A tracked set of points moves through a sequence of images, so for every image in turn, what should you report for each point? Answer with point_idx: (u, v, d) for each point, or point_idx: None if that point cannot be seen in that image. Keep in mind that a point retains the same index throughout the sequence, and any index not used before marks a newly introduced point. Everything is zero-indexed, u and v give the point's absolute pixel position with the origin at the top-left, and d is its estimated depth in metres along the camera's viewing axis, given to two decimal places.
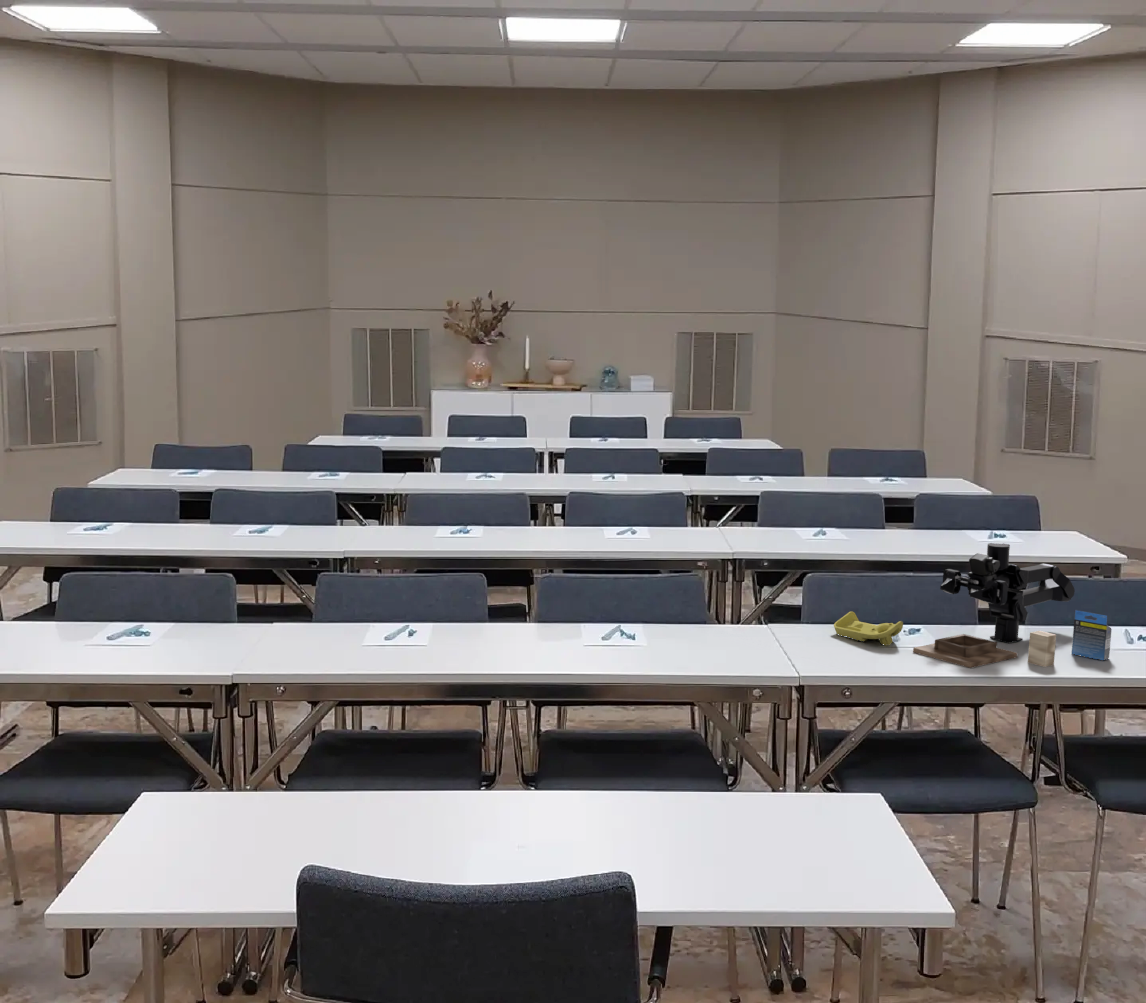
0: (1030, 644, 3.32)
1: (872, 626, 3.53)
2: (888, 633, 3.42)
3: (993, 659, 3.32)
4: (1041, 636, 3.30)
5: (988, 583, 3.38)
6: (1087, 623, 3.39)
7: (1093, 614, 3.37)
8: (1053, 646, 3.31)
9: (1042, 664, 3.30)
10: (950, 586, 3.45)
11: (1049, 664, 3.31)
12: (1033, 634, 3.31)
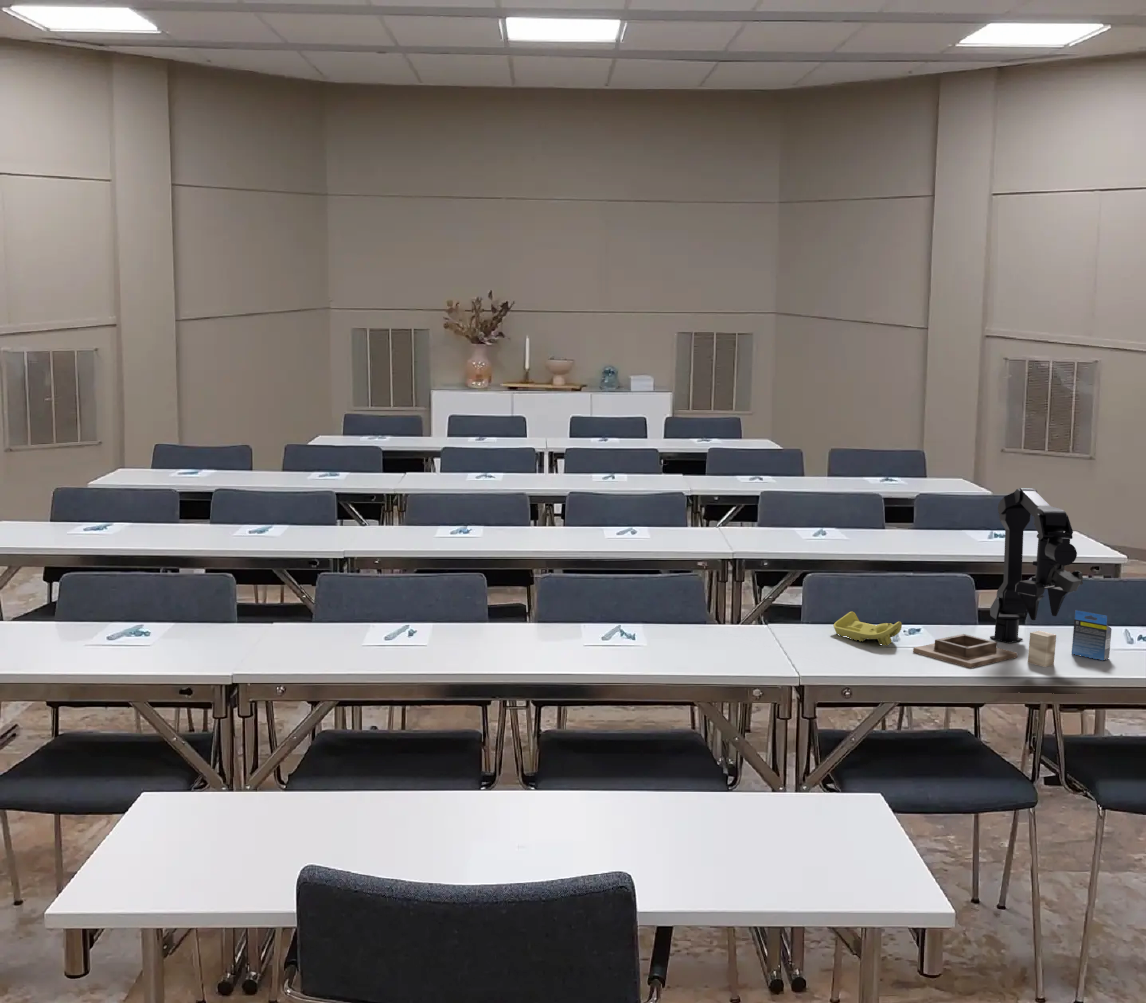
0: (1030, 644, 3.32)
1: (871, 626, 3.53)
2: (886, 633, 3.42)
3: (993, 659, 3.32)
4: (1041, 636, 3.30)
5: (1066, 594, 3.31)
6: (1087, 623, 3.39)
7: (1093, 614, 3.37)
8: (1053, 646, 3.31)
9: (1042, 664, 3.30)
10: None
11: (1049, 664, 3.31)
12: (1033, 634, 3.31)
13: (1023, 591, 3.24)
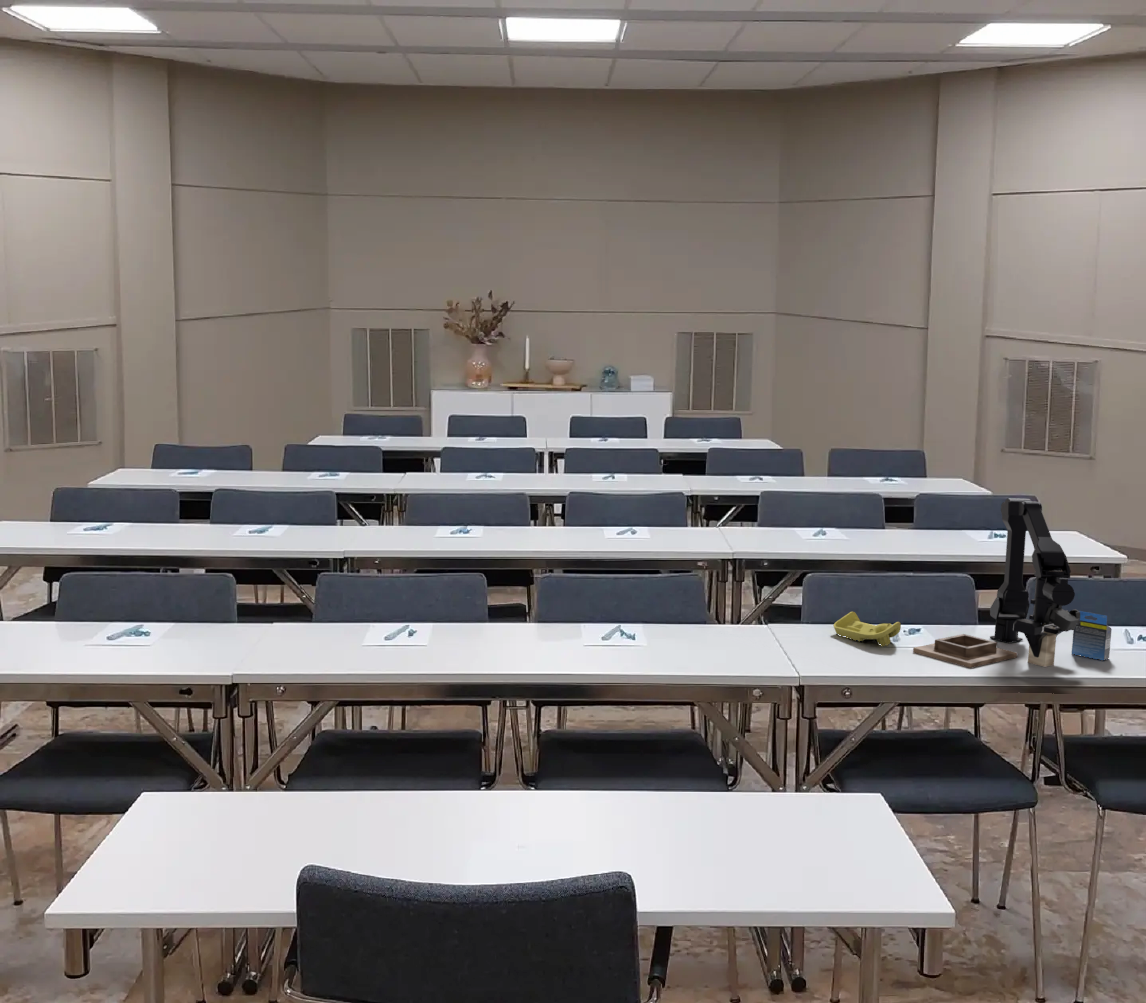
0: None
1: (871, 626, 3.52)
2: (885, 633, 3.41)
3: (993, 659, 3.32)
4: None
5: (1058, 633, 3.31)
6: (1087, 623, 3.39)
7: (1093, 614, 3.37)
8: (1053, 646, 3.31)
9: (1042, 664, 3.30)
10: None
11: (1049, 664, 3.31)
12: None
13: (1021, 630, 3.26)
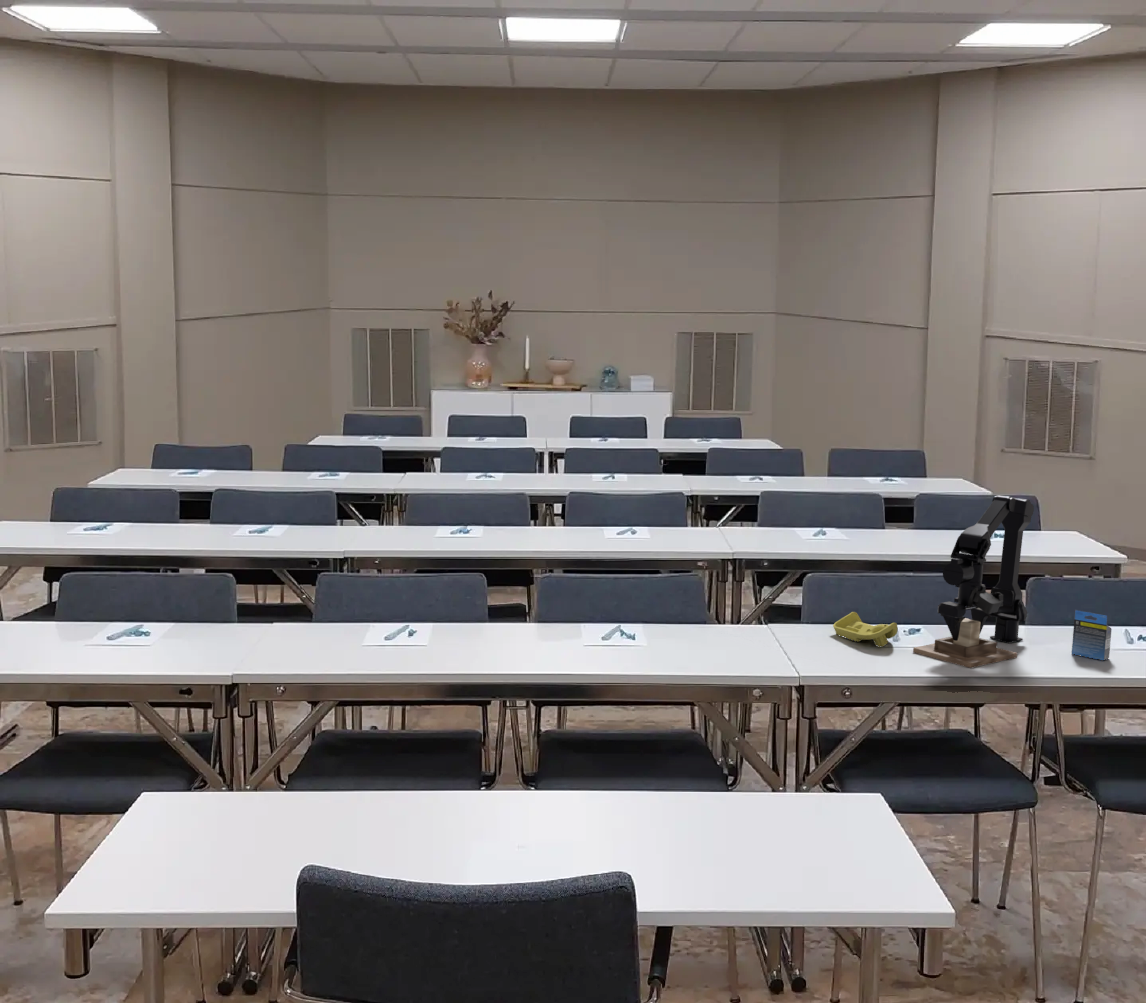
0: None
1: (870, 627, 3.51)
2: (880, 634, 3.41)
3: (993, 659, 3.32)
4: (965, 623, 3.36)
5: (988, 614, 3.39)
6: (1087, 623, 3.39)
7: (1093, 614, 3.37)
8: (977, 633, 3.37)
9: None
10: None
11: None
12: None
13: (945, 613, 3.32)
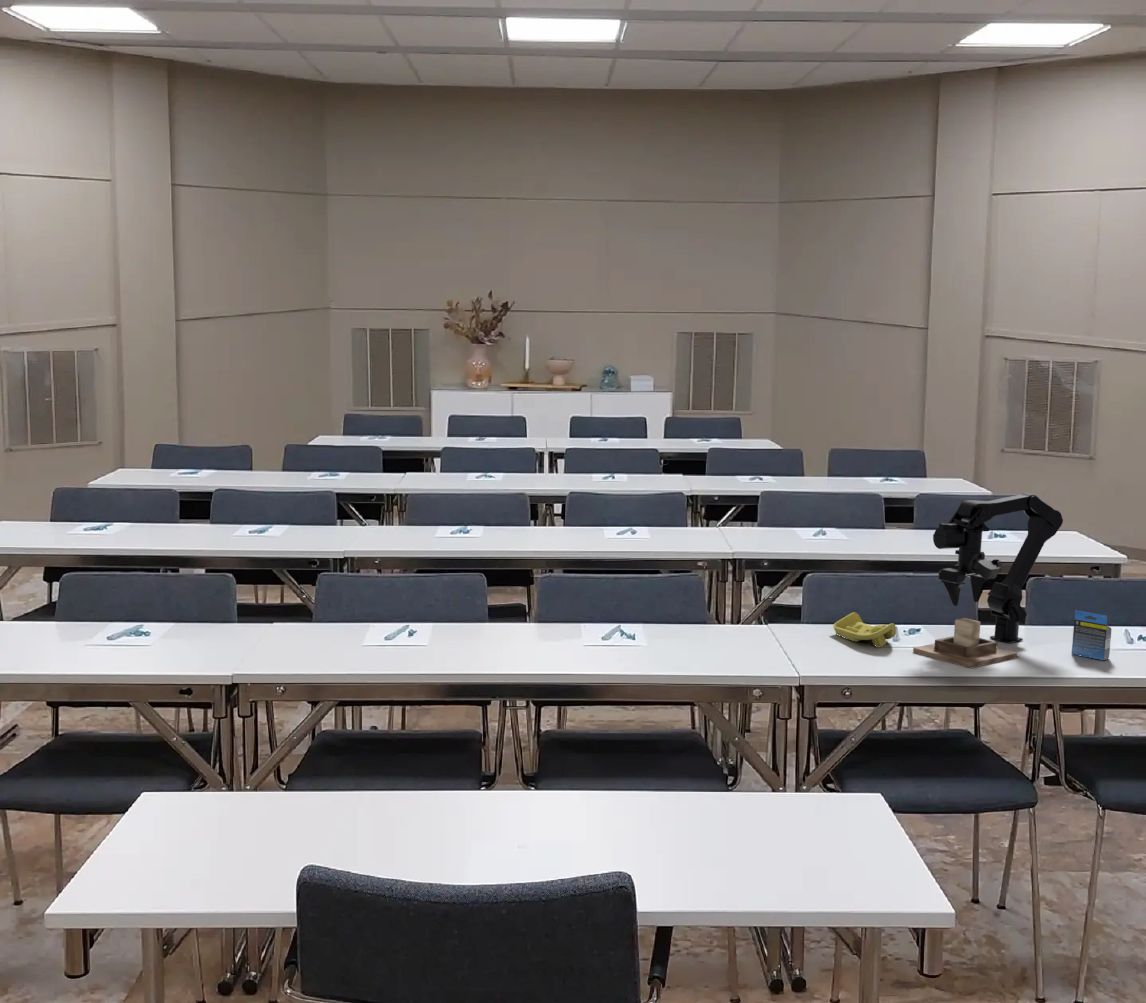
0: (955, 630, 3.39)
1: (870, 627, 3.51)
2: (877, 634, 3.40)
3: (993, 659, 3.32)
4: (965, 623, 3.36)
5: (987, 581, 3.50)
6: (1087, 623, 3.39)
7: (1093, 614, 3.37)
8: (977, 633, 3.37)
9: None
10: None
11: None
12: (958, 621, 3.38)
13: (945, 578, 3.43)
